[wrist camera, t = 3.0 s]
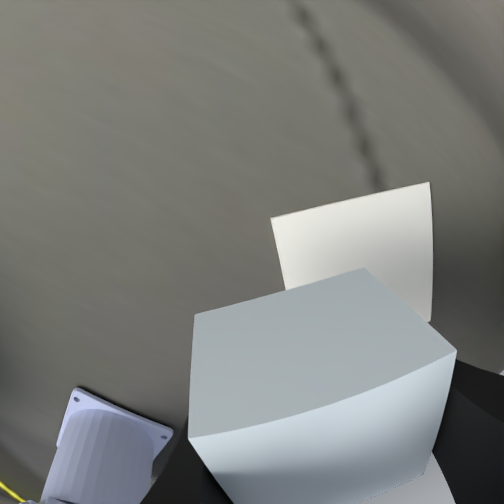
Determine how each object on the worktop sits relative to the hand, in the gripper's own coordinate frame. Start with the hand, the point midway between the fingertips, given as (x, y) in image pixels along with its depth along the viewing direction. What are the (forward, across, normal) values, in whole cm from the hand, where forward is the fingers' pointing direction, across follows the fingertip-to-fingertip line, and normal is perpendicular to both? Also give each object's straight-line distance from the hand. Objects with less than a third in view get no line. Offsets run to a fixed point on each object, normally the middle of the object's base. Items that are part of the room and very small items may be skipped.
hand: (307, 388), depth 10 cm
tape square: (+8, -6, +1) cm, 10 cm away
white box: (+2, 0, 0) cm, 2 cm away
